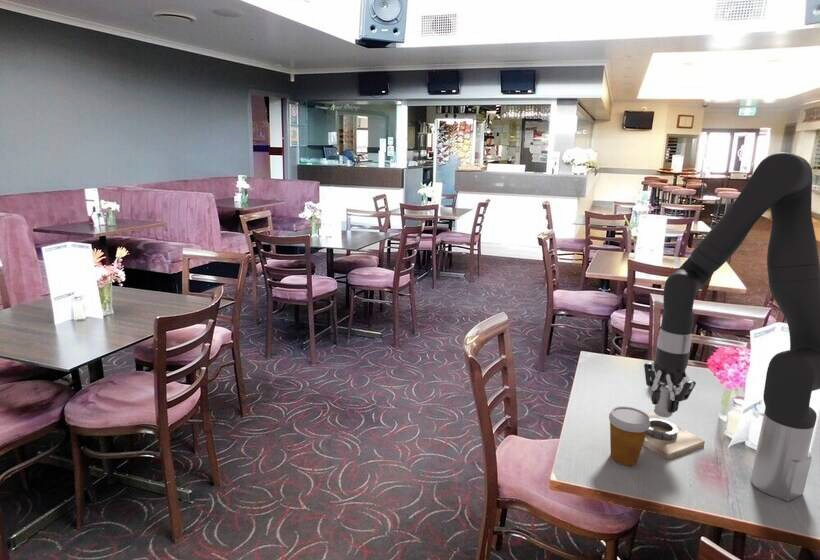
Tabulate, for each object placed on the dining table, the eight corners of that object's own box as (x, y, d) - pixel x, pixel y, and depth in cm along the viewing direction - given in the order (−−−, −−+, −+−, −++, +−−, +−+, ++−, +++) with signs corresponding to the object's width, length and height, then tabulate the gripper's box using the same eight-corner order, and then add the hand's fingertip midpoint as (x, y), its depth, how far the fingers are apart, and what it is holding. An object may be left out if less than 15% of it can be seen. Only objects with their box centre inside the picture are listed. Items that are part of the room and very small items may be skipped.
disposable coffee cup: (647, 455, 134) (654, 411, 131) (641, 474, 126) (648, 429, 123) (607, 444, 139) (613, 401, 136) (599, 462, 131) (605, 417, 128)
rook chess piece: (674, 419, 139) (678, 390, 136) (655, 417, 139) (659, 388, 137) (669, 410, 143) (674, 383, 141) (651, 408, 144) (656, 381, 142)
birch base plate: (704, 446, 139) (704, 440, 138) (667, 459, 133) (668, 454, 132) (651, 417, 153) (652, 412, 152) (616, 428, 146) (616, 423, 146)
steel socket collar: (683, 436, 141) (684, 429, 140) (662, 443, 137) (663, 437, 136) (657, 421, 148) (658, 415, 147) (636, 428, 144) (637, 422, 143)
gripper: (709, 354, 132) (697, 417, 136) (659, 335, 144) (650, 393, 148) (688, 359, 128) (677, 424, 133) (639, 339, 141) (631, 398, 145)
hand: (663, 407), depth 141 cm, fingers closed on rook chess piece, 4 cm apart
